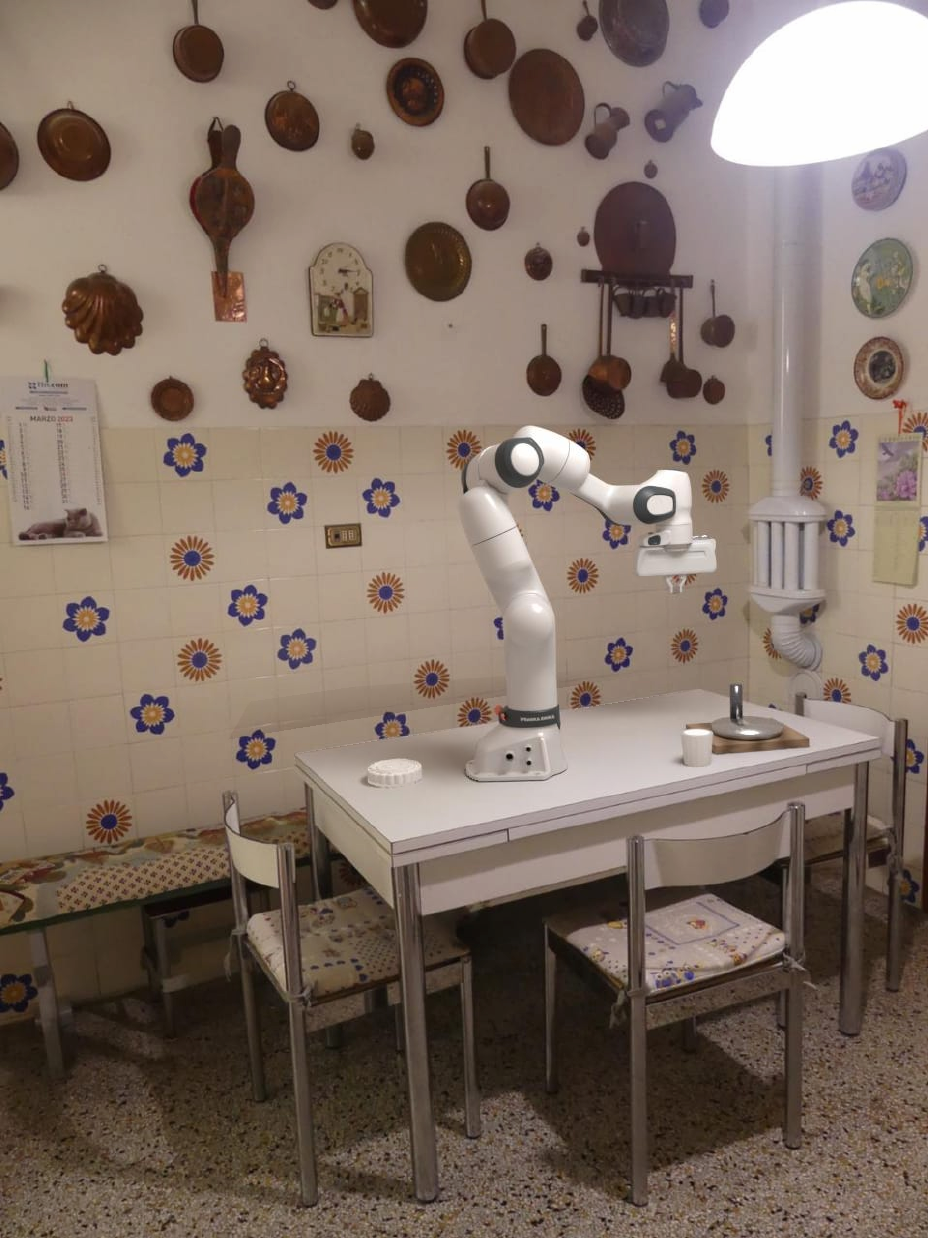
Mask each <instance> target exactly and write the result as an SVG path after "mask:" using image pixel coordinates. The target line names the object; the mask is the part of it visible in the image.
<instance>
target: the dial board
mask: <svg viewBox="0 0 928 1238" xmlns="http://www.w3.org/2000/svg"><path fill="white" fill-rule="evenodd" d="M769 718H770V719H774V720H776V719H775V718H773V717H769ZM712 722H713V721H712ZM712 722H700V723H689V724H688V723H687V724H686V723H685V730H687V729H706V730H710V731H712ZM781 723H782V724H783V733H782V734H781V735H779V736H777V737H773V738H768V739H758V740H743V739H732V738H726V737H722V736H719V735H716V734H714V733H713V742H712V753H713V755H715V754H716V755H727V754H726V753H730V754H739V753H740V754H741V753H750V752H751V753H752V752H761V751H762V752H765V751H776V750H777V749H779V750H786V748H791V749H799V748H798V747H803V748H809V747H810V738H809V737H808V736H806V735H805V734H802V733H800V732H799V731H797V730H795V729H794V728H792V727H790V726H788V725H786V724H784V723H783V722H781ZM808 746H809V747H808ZM777 751H778V750H777Z"/></svg>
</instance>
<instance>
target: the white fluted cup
mask: <svg viewBox="0 0 928 1238" xmlns="http://www.w3.org/2000/svg"><path fill="white" fill-rule="evenodd" d="M680 738H681V746H682V747H681V748H682V755H683V756H682V757H683V763H684V765H685V766H688V767H694V768H704V767H708V766H711V764H712V753H713V752H712V742H713V732H712V731H710V730H706V729H687V730H686V729H684V730H682V731H681V732H680Z"/></svg>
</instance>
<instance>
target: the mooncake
mask: <svg viewBox="0 0 928 1238" xmlns="http://www.w3.org/2000/svg"><path fill="white" fill-rule="evenodd" d="M422 768H423V766H422V763H420V762H419V761H417V760H413V759H407V758H396V757H395V758H393V759H383V760H379V761H376V762H374V763H373V764H371V765H369V766H368V767H367V768H366V775H367V776H366V777H367V780H368V779H369V781H371V782H374V783H379V784H382V785H383V784H387V785H393V784H402V783H409V782H411V781H415V780H417V779H420V777H421V776H422V777H423V769H422Z"/></svg>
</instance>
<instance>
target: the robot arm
mask: <svg viewBox="0 0 928 1238" xmlns="http://www.w3.org/2000/svg"><path fill="white" fill-rule="evenodd" d="M590 470H591V458H590V455H589V453H588V452H587V450H585V449H584V448H583V447H581V446H580V445H579V444H577V443H576V442H575V441H573V440H571V439H570V438H567V437H564V436H563V435H561V434H558V433H557V432H554V431H552V430H548V429H546V428H543V427H540V426H536V425H525V426H523V427H521V428H520V429H518V430H517V432H516V433H515V434H513V437H512V438H509V439H506V440H504V441H502V442H500V443H498V444H494V445H491V446H488V447H486V448H485V449H483V450H481V451H480V452H479V453H478V454H476V455H475V454H474V455H473V456H472V457H470V458H469V460H467V461H466V463H465V464H464V466H463V468H462V470H461V475H460V476H461V481H460V482H461V486H462V493H463V495H462V496H461V497H460V499H459V501H458V506H457V508H458V512H459V518H460V522H461V525H462V529H463V532H464V535H465V538H466V540H467V543H468V545H469V548H470V549H471V552H472V555H473V557H474V559H475V561H476V564H477V566H478V569H479V571H480V573H481V575H482V578H483V580H484V582H485V584H486V586H487V588H488V589H489V592H490V594H491V596H492V598H493V600H494V602H495V604H496V607H497V608H498V610H499V612H500V616H501V618H502V631H503V632H502V633H503V649H504V664H505V665H504V666H505V667H504V668H505V683H506V685H505V686H506V688H505V689H506V705H505V706H503V707H502V706H501V705H495V707H494V708H493V710H494V712H493V713H495V715H496V716H497V717H498V723H497V725H496V726H494V727H493V728H492V729H491V730H489V731H488V732H487V733H486V734H485V735H483V736H482V737H481V738H480V739H479V740H478V742H477V743H476V747H475V752H474V759H471V760H469V761H467V763H466V764H465V769H466V771H465V773H467V774H468V775H467V774H466V775H467V777H468V776H469V777H468V778H470V777H471V778H472V779H471V778H470V779H471V780H473V779H475V780H474V781H476V780H478V781H477V782H507V781H511V782H512V781H544V780H547V779H549V778H551V777H552V776H553V775H558V774H560V773H562V772H564V771H565V770H566V769H567V768H568V764H567V761H566V757H565V754H564V750H563V749H564V748H563V746H562V739H561V733H560V730H561V723H562V720H561V708H560V704H559V703H558V687H557V686H558V685H557V684H558V682H557V653H556V652H557V648H556V647H557V644H556V643H557V641H556V637H557V636H556V617H555V614H554V610H553V606H552V604H551V601H550V600H549V597H548V595H547V592H546V590H545V587H544V586H543V583H542V581H541V578H540V577H539V574H538V572H537V569H536V567H535V565H534V562H533V561H532V558H531V556H530V553H529V551H528V549H527V546H526V544H525V541H524V538H523V537H522V535H521V532H520V530H519V528H518V525H517V523H516V521H515V518H514V516H513V514H512V512H511V510H510V506H509V505H510V504H509V497H510V495H512V494H514V493H516V492H519V491H520V490H522V489H523V488H526V487H528V486H530V485H531V484H532V483H533V482H534V481H535V480H538V481H540V482H542V483H545V484H547V485H548V486H551V487H552V488H555V489H558V490H559V491H560V490H561V491H564V492H567V493H570V494H571V495H572V496H574V497H576V498H578V499H580V500H582V501H583V502H585V503H587V504H588V505H590V506H592V507H594V509H596V510H597V511H598V512H599V513H600V515H601V516H602V517H603V518H604V519H605V521H606V522H607V523H609V524H610V525H613V526H615V527H624V526H651V525H654V530H652V531H649V532H646V533H644V534H642V535H639V536H636V538H635V543H636V545H637V546H636V548H635V549H634V551H633V555H632V556H633V557H632V568H631V569H632V574H633V575H634V576H635V577H637V578H647V577H648V578H649V577H650V578H651V577H663V582H664V583H665V584H666V586H667V592H668V594H670V595H675V594H682V593H683V586H684V584H685V583H686V580H687V575H695V574H697V575H698V574H709V573H710V574H711V573H715V572H716V571H717V567H718V562H717V555H716V549H717V542H716V539H715V537H714V536H712V535H710V534H704V535H703V534H702V535H701V534H700V535H699V534H695V535H694V534H693V531H694V529H693V528H694V527H693V520H692V515H691V514H692V513H691V512H692V508H693V493H692V491H693V490H692V485H691V479H690V476H689V473H687V472H686V471H684V470H682V469H675V468H661V469H658V470H657V471H656V473H655V474H654V475H652V477H650V478H648V479H647V480H645V481H644V482H642V483H640V484H630V485H629V484H627V485H626V484H609V483H606V482H605V481H604V480H601V479H600V478H598V477H597V476H595V475H593V474H592V473H590ZM672 576H677V579H679V581H678V582H677V584H676V585H673V584H672V582H671V580H672V579H673V577H672Z"/></svg>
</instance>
